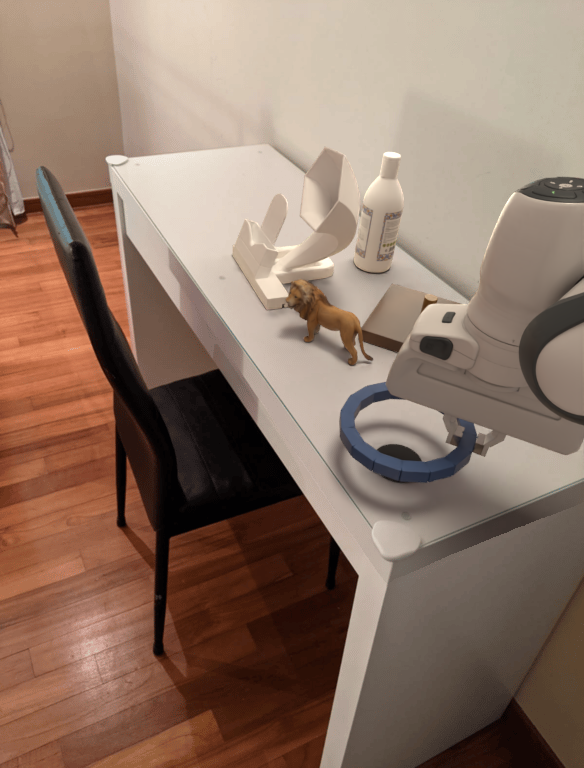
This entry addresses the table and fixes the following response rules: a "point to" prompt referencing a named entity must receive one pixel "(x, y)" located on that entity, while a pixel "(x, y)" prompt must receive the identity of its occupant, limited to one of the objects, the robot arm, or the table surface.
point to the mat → (399, 454)
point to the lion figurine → (325, 316)
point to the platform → (397, 316)
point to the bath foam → (380, 218)
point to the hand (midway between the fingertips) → (465, 446)
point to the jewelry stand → (311, 258)
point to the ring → (391, 465)
